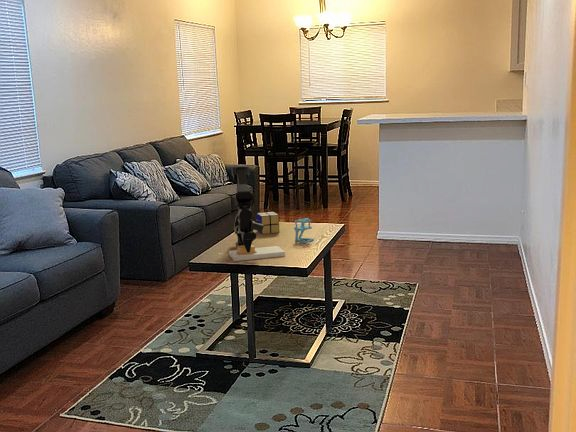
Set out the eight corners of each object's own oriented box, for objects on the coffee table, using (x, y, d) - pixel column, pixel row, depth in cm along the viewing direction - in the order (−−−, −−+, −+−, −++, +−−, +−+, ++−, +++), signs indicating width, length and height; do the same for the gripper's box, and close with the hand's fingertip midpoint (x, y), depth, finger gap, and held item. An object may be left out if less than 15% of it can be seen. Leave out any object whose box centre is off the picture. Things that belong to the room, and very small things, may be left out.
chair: (301, 238, 328) (300, 215, 326) (314, 240, 323) (313, 217, 320) (292, 241, 322) (291, 218, 320) (305, 243, 317) (304, 219, 315)
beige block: (238, 256, 297) (237, 245, 296) (252, 254, 298) (252, 244, 297) (240, 258, 292) (239, 248, 291) (255, 257, 294) (254, 246, 293)
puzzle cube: (257, 230, 349) (256, 213, 347) (274, 229, 352) (273, 211, 350) (261, 234, 340) (261, 216, 338) (279, 232, 342) (279, 214, 340)
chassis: (229, 254, 299) (228, 250, 298) (278, 249, 305) (277, 245, 305) (234, 261, 287) (234, 256, 287) (285, 255, 294) (284, 251, 294)
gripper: (266, 219, 285) (268, 253, 288) (256, 212, 302) (258, 244, 306) (242, 221, 282) (244, 255, 285) (234, 214, 299) (235, 246, 302)
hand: (246, 250), depth 295 cm, fingers open, 9 cm apart
